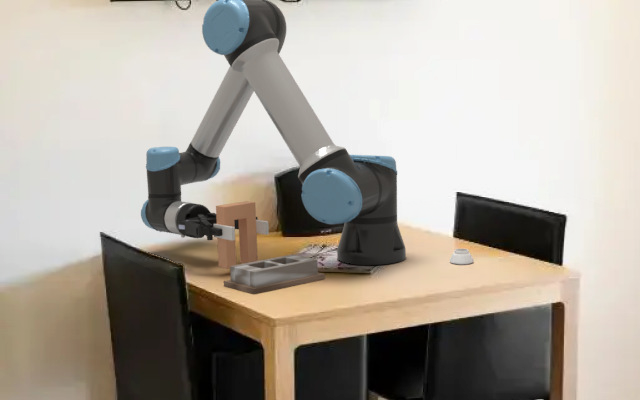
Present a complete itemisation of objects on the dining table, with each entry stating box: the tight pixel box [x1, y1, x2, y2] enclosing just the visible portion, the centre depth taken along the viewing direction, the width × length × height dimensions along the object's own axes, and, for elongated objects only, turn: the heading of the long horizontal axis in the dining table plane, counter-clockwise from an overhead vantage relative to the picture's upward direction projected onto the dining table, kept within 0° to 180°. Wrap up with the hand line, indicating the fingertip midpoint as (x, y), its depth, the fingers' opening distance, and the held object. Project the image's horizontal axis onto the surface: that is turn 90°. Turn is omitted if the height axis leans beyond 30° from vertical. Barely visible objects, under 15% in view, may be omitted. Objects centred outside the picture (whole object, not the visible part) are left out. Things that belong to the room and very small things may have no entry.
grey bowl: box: [449, 248, 474, 266], centre depth 229 cm, size 5×3×5 cm
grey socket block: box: [223, 253, 326, 295], centre depth 214 cm, size 10×18×4 cm, turn 131°
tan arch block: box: [215, 200, 259, 270], centre depth 224 cm, size 3×8×13 cm, turn 131°
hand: (250, 230), depth 220 cm, fingers closed on tan arch block, 8 cm apart
